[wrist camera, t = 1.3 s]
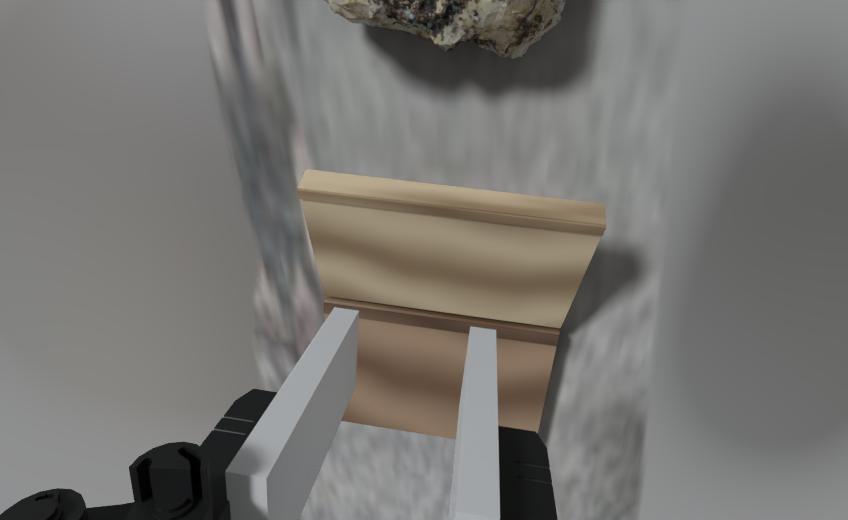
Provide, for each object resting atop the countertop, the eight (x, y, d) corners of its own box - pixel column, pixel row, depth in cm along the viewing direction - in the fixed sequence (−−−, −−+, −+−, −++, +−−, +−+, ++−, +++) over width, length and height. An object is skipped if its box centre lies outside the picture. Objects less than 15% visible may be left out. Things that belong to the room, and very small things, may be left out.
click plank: (306, 169, 27) (296, 189, 26) (604, 203, 26) (606, 226, 25) (330, 278, 35) (324, 296, 34) (560, 309, 33) (560, 329, 32)
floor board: (331, 290, 35) (323, 300, 34) (556, 321, 34) (559, 333, 33) (328, 404, 39) (322, 418, 38) (532, 436, 38) (534, 452, 36)
